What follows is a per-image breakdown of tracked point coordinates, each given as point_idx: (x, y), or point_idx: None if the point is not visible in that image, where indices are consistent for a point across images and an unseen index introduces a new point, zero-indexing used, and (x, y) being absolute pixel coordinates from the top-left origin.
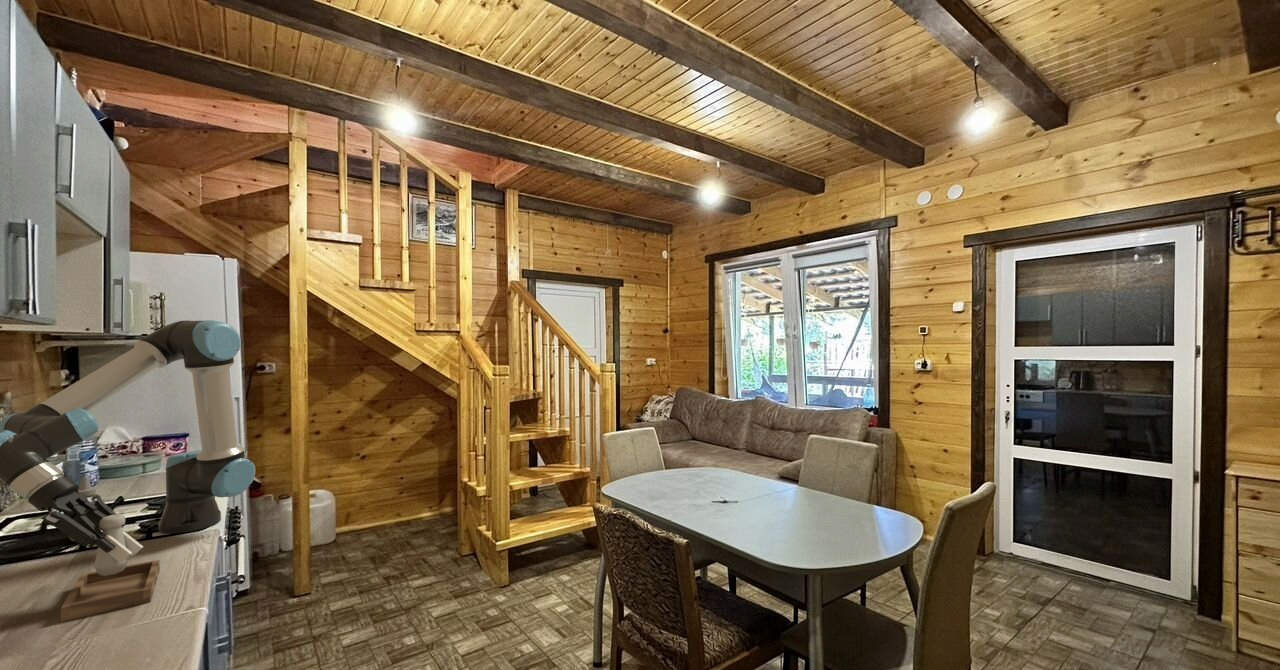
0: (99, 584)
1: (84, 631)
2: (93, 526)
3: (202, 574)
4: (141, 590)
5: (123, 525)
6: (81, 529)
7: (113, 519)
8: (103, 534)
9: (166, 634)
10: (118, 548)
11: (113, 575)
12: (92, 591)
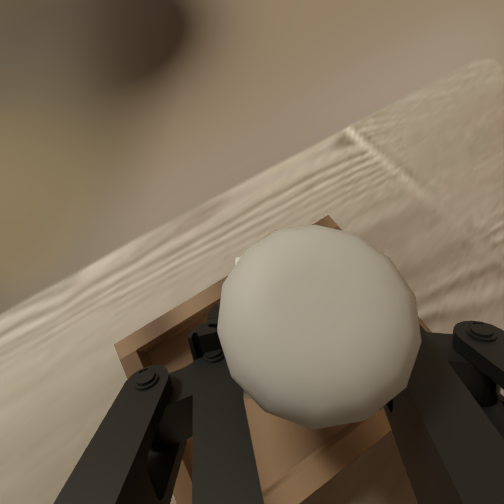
0: None
1: (466, 267)
2: (448, 411)
3: (177, 220)
4: (339, 229)
5: (210, 327)
6: None
7: (371, 252)
8: None
9: (441, 116)
10: None
11: (185, 449)
12: (289, 429)
